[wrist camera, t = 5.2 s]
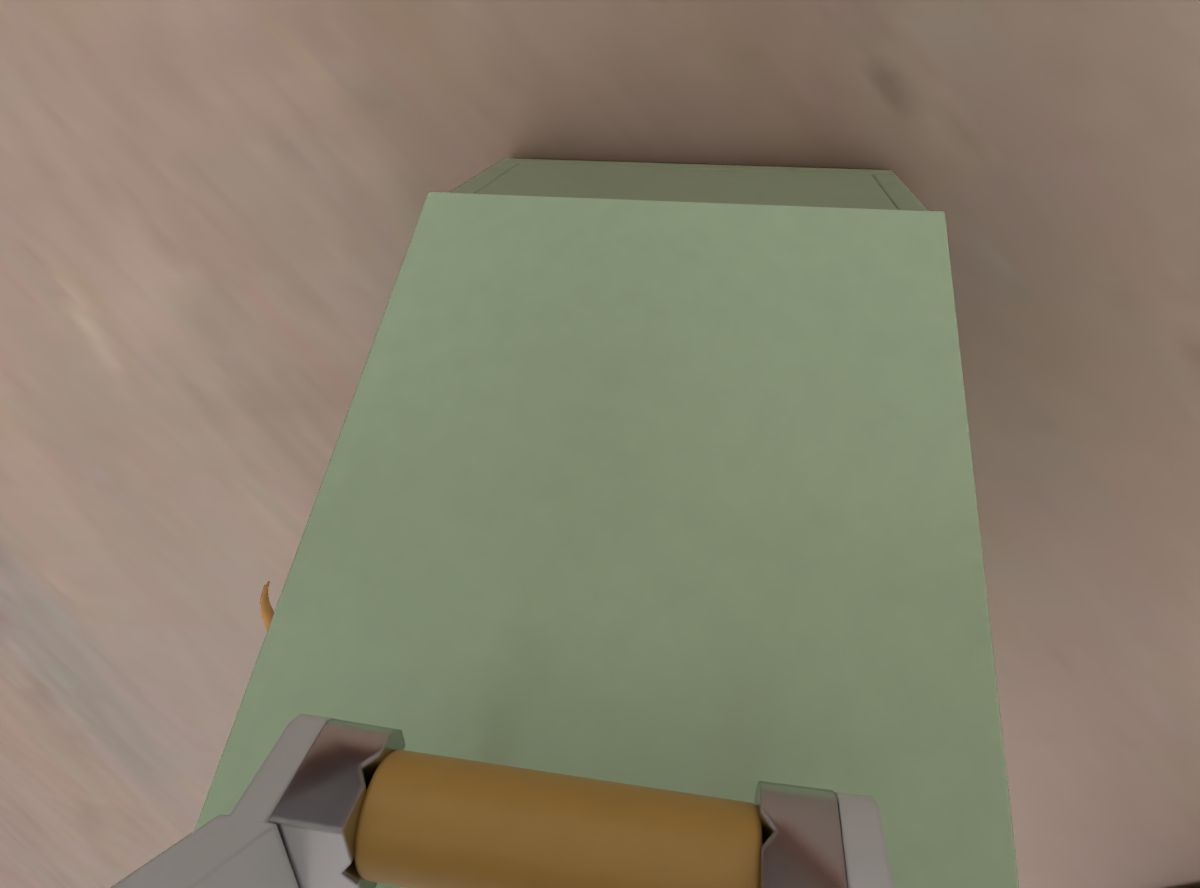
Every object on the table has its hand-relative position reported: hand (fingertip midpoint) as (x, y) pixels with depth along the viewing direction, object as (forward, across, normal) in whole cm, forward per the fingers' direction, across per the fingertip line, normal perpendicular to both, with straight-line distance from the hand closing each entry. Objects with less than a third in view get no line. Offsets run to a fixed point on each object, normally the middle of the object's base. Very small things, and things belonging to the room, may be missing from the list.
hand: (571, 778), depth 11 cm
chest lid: (+7, 0, 0) cm, 7 cm away
